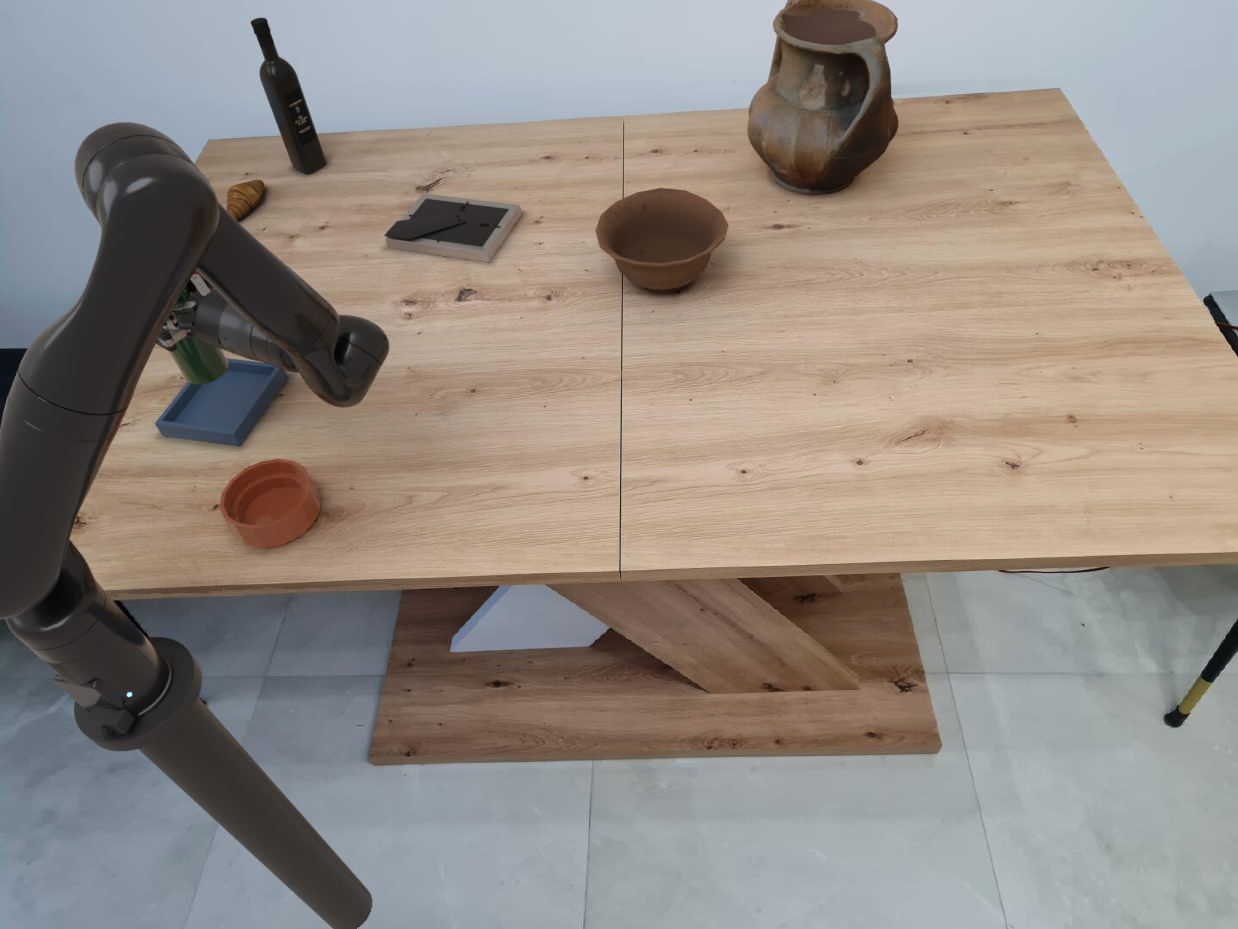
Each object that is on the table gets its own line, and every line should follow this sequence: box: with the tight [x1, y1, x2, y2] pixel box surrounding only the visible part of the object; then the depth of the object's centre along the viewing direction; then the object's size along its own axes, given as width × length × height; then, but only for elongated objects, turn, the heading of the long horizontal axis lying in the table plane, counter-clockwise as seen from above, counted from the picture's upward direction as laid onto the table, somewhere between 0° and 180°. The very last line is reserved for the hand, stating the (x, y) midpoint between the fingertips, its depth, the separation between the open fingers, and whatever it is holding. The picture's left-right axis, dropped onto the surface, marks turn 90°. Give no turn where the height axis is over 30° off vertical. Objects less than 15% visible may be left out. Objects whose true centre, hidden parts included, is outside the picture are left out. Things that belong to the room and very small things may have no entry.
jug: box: [746, 0, 900, 196], centre depth 164 cm, size 32×28×30 cm
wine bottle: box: [250, 17, 327, 175], centre depth 180 cm, size 6×6×30 cm
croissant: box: [226, 179, 265, 222], centre depth 180 cm, size 14×7×5 cm, turn 170°
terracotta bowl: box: [218, 458, 322, 549], centre depth 125 cm, size 12×12×5 cm
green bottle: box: [169, 285, 228, 384], centre depth 117 cm, size 6×6×23 cm
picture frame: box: [383, 192, 522, 263], centre depth 170 cm, size 16×3×21 cm
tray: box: [154, 357, 289, 447], centre depth 141 cm, size 16×14×3 cm
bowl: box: [594, 187, 729, 295], centre depth 153 cm, size 22×22×11 cm
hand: (153, 292), depth 117 cm, fingers closed on green bottle, 6 cm apart
